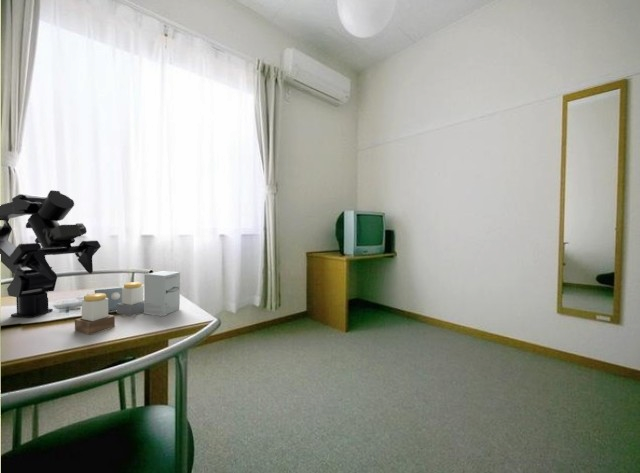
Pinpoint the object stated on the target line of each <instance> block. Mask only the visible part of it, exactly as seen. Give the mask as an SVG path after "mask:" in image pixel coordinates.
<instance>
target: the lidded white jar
mask: <svg viewBox="0 0 640 473" xmlns="http://www.w3.org/2000/svg"><path fill="white" fill-rule="evenodd" d="M108 315H109V311H108V298H106V294H104V293H96V294H95V293H89V294H86V295H84V296H83V299H82V300H81V318H82V319H84V320H89V321H95V320H98V319H102V318H105V317H108Z"/></svg>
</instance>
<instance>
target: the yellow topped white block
mask: <svg viewBox="0 0 640 473" xmlns="http://www.w3.org/2000/svg"><path fill="white" fill-rule="evenodd" d="M142 284H143V283H142V282H140V281H133V282H132V281H131V282H126V283H124V284H123V286H121V287H122V303H123V304H128V305H133V304H137V303H140V302H143V300H144V285H142Z"/></svg>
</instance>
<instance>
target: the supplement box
mask: <svg viewBox="0 0 640 473" xmlns="http://www.w3.org/2000/svg"><path fill="white" fill-rule="evenodd" d="M180 293H181V272H180V271H171V270H170V271H169V270H160V271H155V272H150V273H145V274H144V285H143V300H144V312H143V314H145V315H151V316H158V317H165V316H166V315H169V314H170V313H173V312H176V311H178V310H179V309H180V295H181V294H180Z"/></svg>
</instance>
